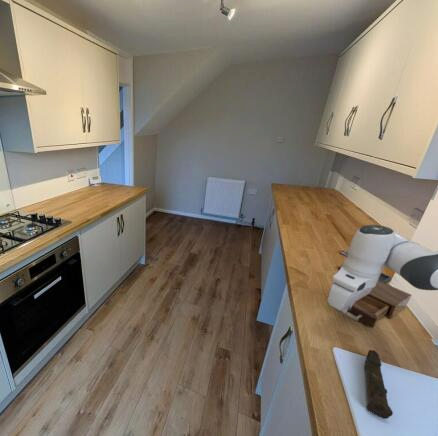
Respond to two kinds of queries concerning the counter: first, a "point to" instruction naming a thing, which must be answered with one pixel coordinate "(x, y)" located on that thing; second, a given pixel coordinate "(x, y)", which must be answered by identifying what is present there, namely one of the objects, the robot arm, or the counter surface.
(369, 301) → the drawer
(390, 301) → the cabinet
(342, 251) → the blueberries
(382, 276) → the tray
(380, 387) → the dark brown elongated piece
